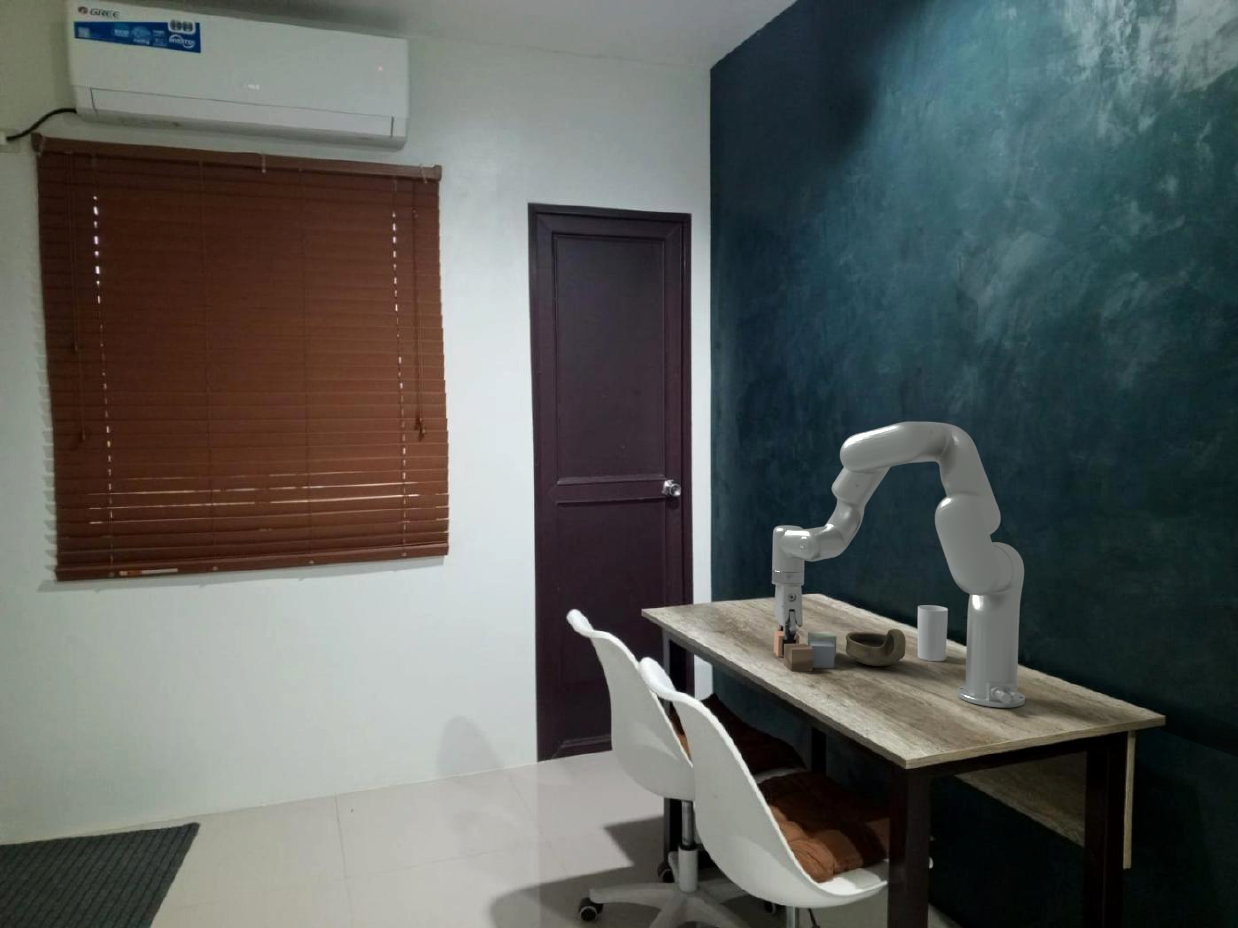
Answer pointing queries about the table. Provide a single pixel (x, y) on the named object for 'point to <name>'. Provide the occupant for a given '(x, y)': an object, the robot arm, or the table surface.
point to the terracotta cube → (780, 642)
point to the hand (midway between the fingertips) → (786, 651)
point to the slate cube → (822, 654)
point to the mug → (932, 632)
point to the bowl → (876, 647)
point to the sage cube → (822, 638)
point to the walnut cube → (798, 657)
